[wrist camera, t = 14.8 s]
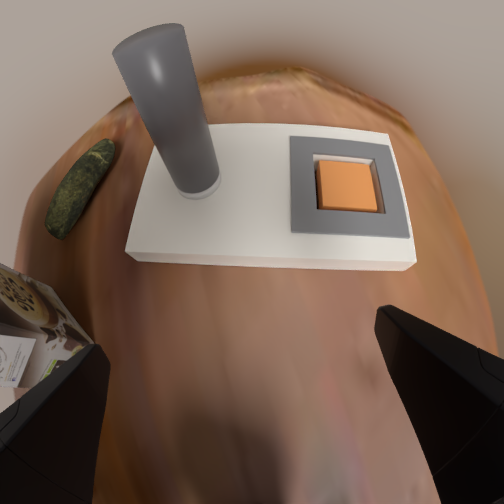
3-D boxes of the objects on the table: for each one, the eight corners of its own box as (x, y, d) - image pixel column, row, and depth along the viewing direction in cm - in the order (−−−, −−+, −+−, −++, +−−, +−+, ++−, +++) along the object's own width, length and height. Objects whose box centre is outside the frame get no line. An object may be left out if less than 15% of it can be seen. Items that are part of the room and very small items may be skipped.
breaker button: (363, 176, 25) (368, 164, 23) (370, 220, 23) (377, 209, 21) (316, 173, 25) (319, 160, 23) (319, 217, 24) (323, 205, 22)
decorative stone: (74, 170, 29) (54, 147, 24) (124, 151, 29) (107, 123, 24) (63, 248, 25) (35, 229, 20) (119, 231, 25) (93, 207, 20)
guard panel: (381, 149, 27) (388, 132, 24) (404, 270, 22) (418, 260, 19) (167, 143, 29) (159, 126, 26) (137, 261, 24) (123, 250, 21)
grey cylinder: (189, 208, 22) (120, 65, 9) (169, 178, 24) (106, 47, 11) (229, 183, 23) (196, 31, 10) (207, 156, 24) (168, 19, 11)
